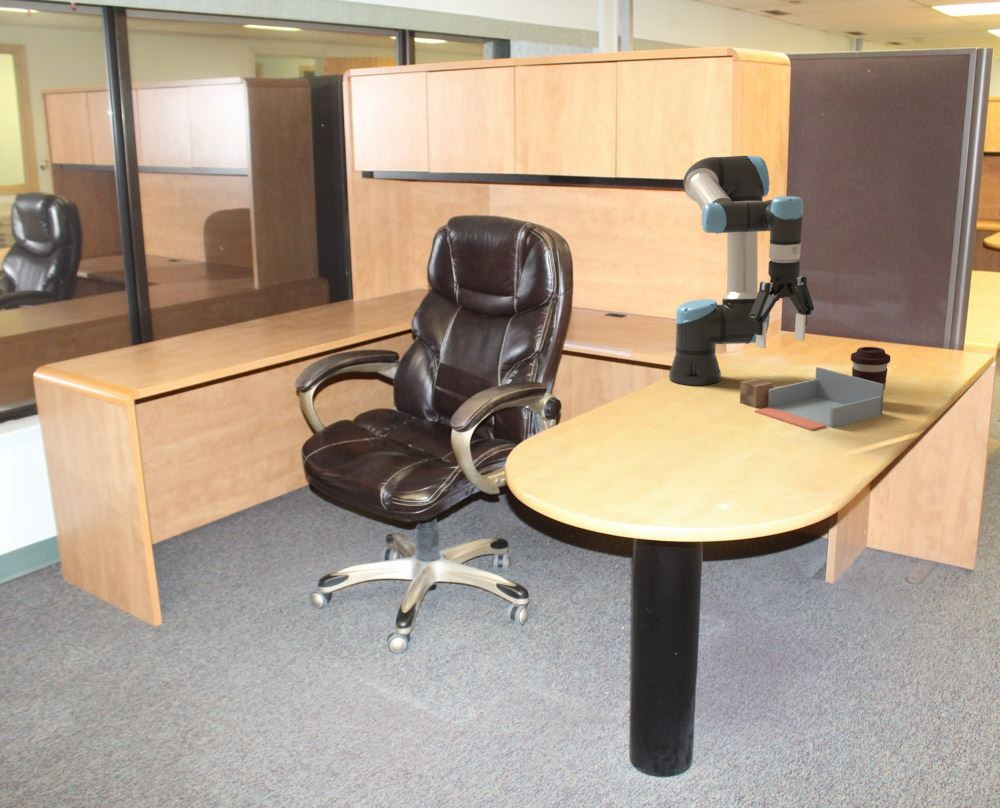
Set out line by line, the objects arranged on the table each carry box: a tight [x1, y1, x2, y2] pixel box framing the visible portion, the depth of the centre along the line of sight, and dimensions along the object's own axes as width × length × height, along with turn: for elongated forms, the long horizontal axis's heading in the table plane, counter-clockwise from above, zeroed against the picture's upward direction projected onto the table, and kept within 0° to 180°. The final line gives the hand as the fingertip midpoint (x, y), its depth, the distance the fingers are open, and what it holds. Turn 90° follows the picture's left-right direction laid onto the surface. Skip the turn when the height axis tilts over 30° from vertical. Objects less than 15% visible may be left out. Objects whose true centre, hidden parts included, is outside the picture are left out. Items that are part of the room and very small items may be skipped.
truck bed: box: [767, 366, 885, 429], centre depth 264 cm, size 22×18×9 cm
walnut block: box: [739, 377, 774, 409], centre depth 273 cm, size 6×6×7 cm
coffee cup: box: [850, 346, 892, 390], centre depth 272 cm, size 10×10×15 cm
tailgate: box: [754, 406, 827, 432], centre depth 260 cm, size 20×1×5 cm
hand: (780, 343), depth 259 cm, fingers open, 13 cm apart
